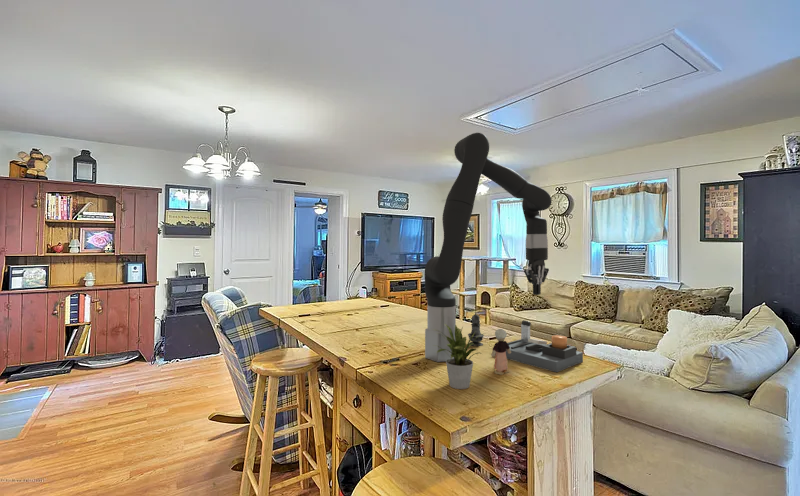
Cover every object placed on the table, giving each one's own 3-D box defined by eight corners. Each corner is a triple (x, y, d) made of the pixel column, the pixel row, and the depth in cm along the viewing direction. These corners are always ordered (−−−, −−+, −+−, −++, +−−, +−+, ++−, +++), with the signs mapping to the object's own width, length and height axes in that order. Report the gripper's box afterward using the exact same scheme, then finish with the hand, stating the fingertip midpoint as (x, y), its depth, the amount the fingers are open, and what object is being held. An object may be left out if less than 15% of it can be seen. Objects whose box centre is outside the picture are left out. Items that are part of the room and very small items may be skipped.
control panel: (556, 372, 108) (556, 353, 108) (494, 355, 126) (494, 338, 126) (583, 361, 118) (583, 344, 118) (521, 347, 136) (521, 332, 136)
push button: (562, 349, 113) (562, 339, 113) (548, 346, 117) (548, 336, 117) (569, 347, 116) (569, 337, 116) (556, 344, 119) (556, 334, 119)
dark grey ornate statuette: (482, 342, 142) (482, 311, 142) (484, 346, 136) (484, 313, 136) (467, 342, 143) (467, 310, 143) (468, 346, 137) (468, 313, 137)
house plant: (418, 380, 102) (418, 320, 102) (458, 372, 109) (458, 316, 109) (450, 398, 90) (450, 330, 89) (493, 388, 96) (493, 324, 96)
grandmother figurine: (501, 368, 112) (501, 326, 112) (513, 371, 110) (513, 328, 109) (487, 374, 107) (487, 330, 107) (499, 377, 104) (499, 332, 104)
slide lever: (529, 343, 129) (529, 322, 129) (520, 341, 131) (520, 320, 131) (532, 342, 130) (532, 321, 130) (523, 340, 133) (523, 319, 133)
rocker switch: (538, 343, 119) (538, 340, 119) (527, 341, 122) (528, 338, 122) (546, 344, 122) (546, 341, 122) (536, 342, 125) (536, 339, 125)
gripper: (537, 246, 142) (537, 292, 142) (516, 247, 134) (517, 295, 134) (556, 246, 136) (556, 294, 137) (535, 247, 128) (536, 297, 128)
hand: (536, 294), depth 135 cm, fingers closed
